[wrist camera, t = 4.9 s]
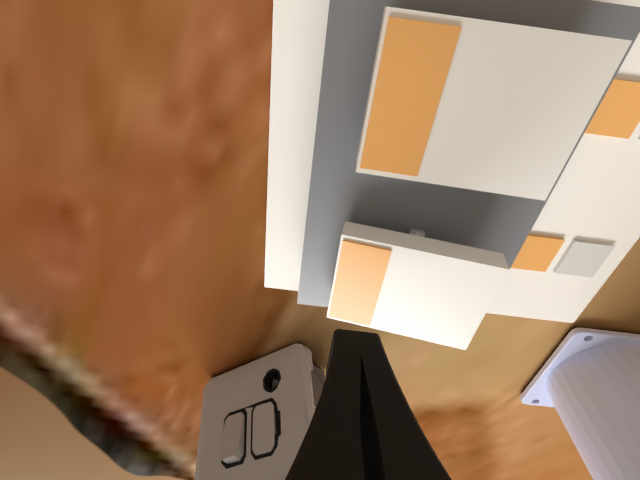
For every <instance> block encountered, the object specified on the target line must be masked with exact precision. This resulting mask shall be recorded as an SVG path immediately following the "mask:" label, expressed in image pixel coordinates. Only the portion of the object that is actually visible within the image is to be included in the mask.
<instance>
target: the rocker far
mask: <svg viewBox="0 0 640 480" xmlns="http://www.w3.org/2000/svg"><path fill="white" fill-rule="evenodd" d="M509 270H510V269H509V267H508V264H507V262H506V259H505V257H504V255H503V253H499V252H494V251H489V250H484V249H479V248H474V247H470V246H465V245H460V244H455V243H450V242H445V241H440V240H435V239H430V238H426V237H421V236H416V235H411V234H406V233H401V232H396V231H391V230H387V229H382V228H377V227H372V226H367V225H362V224H357V223H352V222H347V221H345V224H344V227H343V231H342V234H341V240H340V245H339V251H338V256H337V262H336V268H335V273H334V279H333V284H332V290H331V295H330V301H329V306H328V312H327V318H331V319H335V320H340V321H344V322H348V323H352V324H357V325H361V326H365V327H369V328H374V329H378V330H382V331H386V332H391V333H395V334H399V335H403V336H408V337H412V338H416V339H420V340H425V341H429V342H433V343H437V344H442V345H446V346H450V347H454V348H459V349H463V350H466V348H467V346H468V345H469V343H470V341H471V339H472V337H473V336H474V334H475V332H476V330H477V328H478V326H479V325H480V323H481V321H482V319H483V317H484V316H485V314H486V312H487V310H488V308H489V306H490V305H491V303H492V301H493V299H494V297H495V295H496V294H497V292H498V290H499V288H500V286H501V285H502V283H503V281H504V279H505V277H506V275H507V274H508V272H509Z"/></svg>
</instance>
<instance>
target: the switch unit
mask: <svg viewBox="0 0 640 480" xmlns="http://www.w3.org/2000/svg"><path fill="white" fill-rule="evenodd" d="M385 6H388V7H395V8H402V9H409V10H416V11H423V12H431V13H438V14H445V15H452V16H459V17H466V18H474V19H481V20H488V21H495V22H502V23H509V24H517V25H524V26H531V27H538V28H545V29H552V30H560V31H567V32H574V33H581V34H588V35H596V36H603V37H610V38H617V39H624V40H631V41H632V42H631V44H630V46H629V48H628V49H627V51H626V53H625V55H624V57H623V59H622V60H621V62H620V64H619V66H618V68H617V70H616V71H615V73H614V75H613V77H612V79H611V81H610V83H609V84H608V86H607V88H606V90H605V92H604V94H603V95H602V97H601V99H600V101H599V103H598V105H597V106H596V108H595V110H594V112H593V114H592V116H591V117H590V119H589V121H588V123H587V125H586V127H585V128H584V130H583V132H582V134H581V136H580V138H579V139H578V141H577V143H576V145H575V147H574V149H573V150H572V152H571V154H570V156H569V158H568V160H567V161H566V163H565V165H564V167H563V169H562V171H561V172H560V174H559V176H558V178H557V180H556V182H555V183H554V185H553V187H552V189H551V191H550V193H549V195H548V196H547V198H546V200H545V201H543V200H537V199H530V198H523V197H517V196H510V195H504V194H497V193H490V192H484V191H477V190H470V189H464V188H457V187H451V186H444V185H437V184H431V183H424V182H417V181H411V180H404V179H398V178H391V177H384V176H378V175H371V174H364V173H358V172H356V160H357V154H358V149H359V143H360V138H361V132H362V127H363V122H364V116H365V111H366V105H367V100H368V94H369V89H370V83H371V78H372V72H373V67H374V61H375V56H376V51H377V45H378V40H379V34H380V29H381V23H382V18H383V12H384V7H385ZM345 221H347V222H352V223H357V224H362V225H367V226H372V227H377V228H382V229H387V230H391V231H396V232H401V233H406V234H411V235H416V236H421V237H426V238H430V239H435V240H440V241H445V242H450V243H455V244H460V245H465V246H470V247H474V248H479V249H484V250H489V251H494V252H499V253H503V255H504V257H505V259H506V262H507V264H508V267H509V269H510V270H509V272H508V274H507V275H506V277H505V279H504V281H503V283H502V285H501V286H500V288H499V290H498V292H497V294H496V295H495V297H494V299H493V301H492V303H491V305H490V306H489V308H488V310H487V312H486V313H491V314H500V315H508V316H517V317H525V318H534V319H543V320H551V321H560V322H568V323H574V322H575V320H576V319H577V318H578V316H579V315H580V314H581V312H582V311H583V310H584V309H585V307H586V306H587V305H588V303H589V302H590V301H591V299H592V298H593V297H594V296H595V294H596V293H597V292H598V290H599V289H600V288H601V287H602V285H603V284H604V283H605V281H606V280H607V279H608V277H609V276H610V275H611V274H612V272H613V271H614V270H615V268H616V267H617V266H618V264H619V263H620V262H621V261H622V259H623V258H624V257H625V255H626V254H627V253H628V251H629V250H630V249H631V248H632V246H633V245H634V244H635V242H636V241H637V240H638V238H639V237H640V0H273V31H272V62H271V93H270V124H269V156H268V187H267V218H266V249H265V281H264V287H268V288H277V289H285V290H294V291H298V299H297V304H304V305H312V306H321V307H328V306H329V301H330V295H331V290H332V284H333V279H334V273H335V268H336V262H337V256H338V251H339V245H340V240H341V234H342V231H343V227H344V224H345Z"/></svg>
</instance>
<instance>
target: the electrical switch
mask: <svg viewBox="0 0 640 480" xmlns="http://www.w3.org/2000/svg"><path fill="white" fill-rule="evenodd" d="M324 383H325V374H324V370H322V369H320V368H318V367H316V366H314V365H313V363H312V352H311V351H310V349H309V348H308V347H306V346H304V345H302V344H296V343H295V344H293V345H291V346H288V347H286V348H283V349H281V350H279V351H276V352H274V353H271V354H269V355H267V356H264V357H262V358H260V359H257V360H255V361H252V362H250V363H248V364H245V365H243V366H241V367H238V368H236V369H233V370H231V371H229V372H226V373H224V374H221V375H219V376H217V377H214V378H212V379H210V380H209V381H208V383H207V384H206V386H205V388H204V394H203V404H202V413H201V423H200V433H199V442H198V452H197V461H196V471H195V480H285V478H286V476H287V474H288V472H289V470H290V468H291V466H292V464H293V462H294V460H295V457H296V455H297V453H298V451H299V448H300V446H301V444H302V442H303V439H304V437H305V435H306V432H307V430H308V427H309V425H310V422H311V420H312V417H313V415H314V412H315V407H314V406H317V404H318V401H319V398H320V396H321V393H322V390H323V386H324Z"/></svg>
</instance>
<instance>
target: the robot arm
mask: <svg viewBox="0 0 640 480" xmlns="http://www.w3.org/2000/svg"><path fill="white" fill-rule="evenodd" d="M520 399H521V402H522V403H524V404H529V405H538V406H547V407H555V409H556V411H557V413H558V414H559V416H560V418H561V420H562V422H563V424H564V426H565V428H566V429H567V431H568V433H569V435H570V437H571V439H572V441H573V443H574V444H575V446H576V448H577V450H578V452H579V454H580V456H581V458H582V459H583V461H584V463H585V465H586V467H587V469H588V471H589V473H590V474H591V476H592V478H593V480H640V334H632V333H623V332H615V331H606V330H597V329H589V328H575V329H573V330H571V331H570V332H569V333H568V335H567V336H566V337H565V339H564V340H563V341H562V342H561V344H560V345H559V346H558V348H557V349H556V350H555V351H554V353H553V354H552V355H551V357H550V358H549V359H548V360H547V362H546V363H545V364H544V366H543V367H542V368H541V369H540V371H539V372H538V373H537V375H536V376H535V377H534V378H533V380H532V381H531V382H530V384H529V385H528V386H527V387H526V389H525V390H524V391H523V393H522V394H521V395H520ZM285 480H451V478H450V477H449V475H448V473H447V472H446V470H445V469H444V467H443V465H442V464H441V462H440V461H439V459H438V457H437V456H436V454H435V452H434V451H433V449H432V447H431V445H430V444H429V442H428V440H427V438H426V437H425V435H424V433H423V431H422V429H421V428H420V426H419V424H418V422H417V420H416V418H415V416H414V414H413V413H412V411H411V409H410V407H409V405H408V403H407V400H406V398H405V396H404V394H403V392H402V390H401V388H400V386H399V384H398V382H397V379H396V377H395V375H394V373H393V370H392V368H391V366H390V363H389V361H388V358H387V356H386V353H385V351H384V348H383V345H382V343H381V340H380V337H379V335H378V334H376V333H368V332H359V331H351V330H342V329H337V330H335V331H334V334H333V339H332V344H331V348H330V353H329V358H328V363H327V369H326V379H325V383H324V386H323V390H322V393H321V396H320V398H319V401H318V404H317V406H316V409H315V412H314V415H313V417H312V420H311V422H310V425H309V427H308V430H307V432H306V435H305V437H304V439H303V442H302V444H301V446H300V448H299V451H298V453H297V455H296V457H295V460H294V462H293V464H292V466H291V468H290V470H289V472H288V474H287V476H286V478H285Z"/></svg>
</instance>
